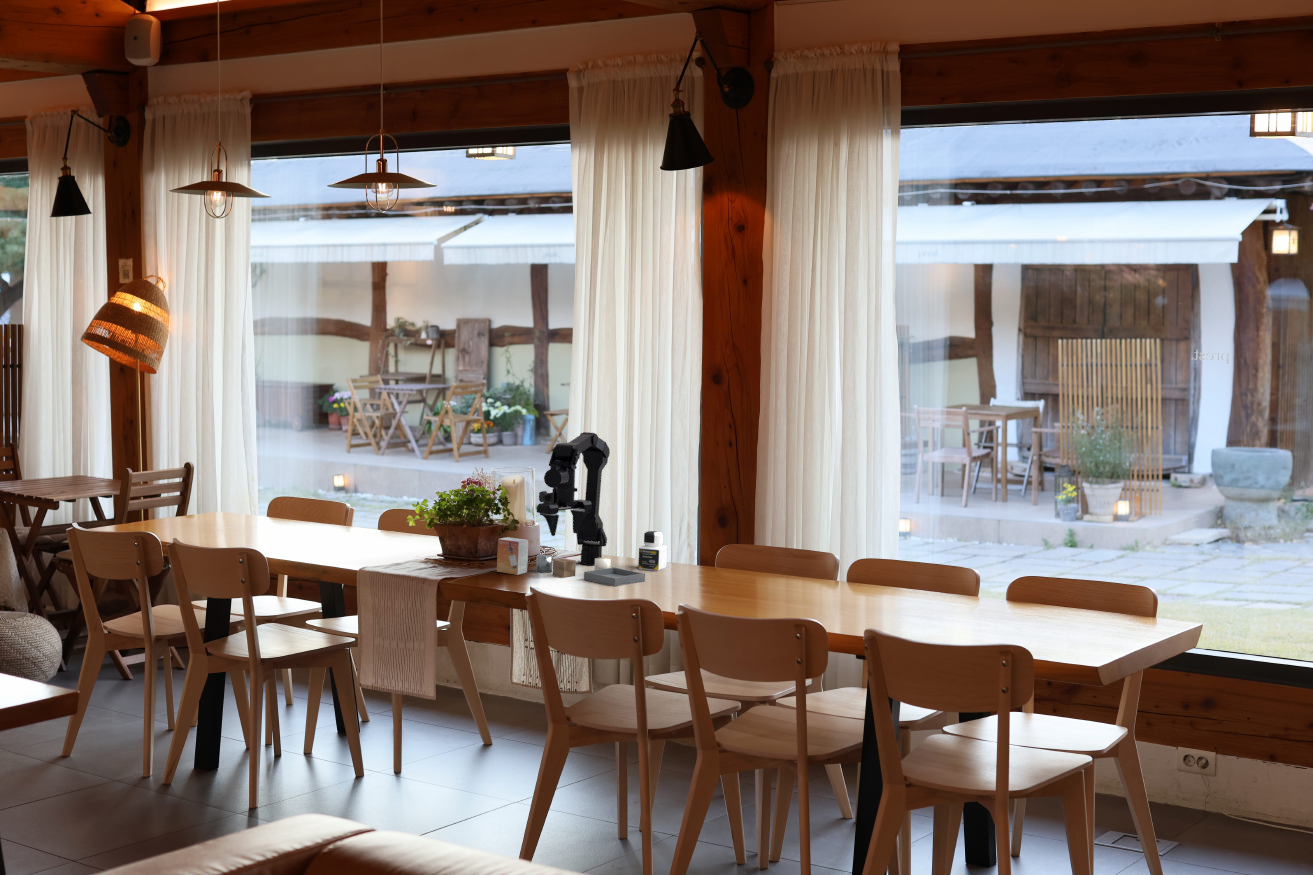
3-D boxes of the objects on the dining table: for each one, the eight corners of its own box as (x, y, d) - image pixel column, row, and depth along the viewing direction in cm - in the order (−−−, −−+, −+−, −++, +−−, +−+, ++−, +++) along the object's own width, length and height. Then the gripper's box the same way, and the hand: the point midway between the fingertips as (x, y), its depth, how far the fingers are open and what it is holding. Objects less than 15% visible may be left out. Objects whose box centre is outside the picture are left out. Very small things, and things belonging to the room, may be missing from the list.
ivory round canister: (602, 572, 408) (602, 557, 407) (613, 575, 404) (614, 559, 404) (591, 574, 404) (591, 558, 404) (602, 576, 401) (602, 560, 400)
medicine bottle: (637, 568, 416) (639, 532, 415) (646, 565, 423) (647, 529, 422) (658, 571, 414) (659, 534, 413) (666, 567, 420) (667, 531, 419)
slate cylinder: (544, 569, 410) (545, 554, 409) (555, 571, 406) (555, 556, 406) (532, 571, 406) (533, 555, 405) (543, 573, 402) (544, 557, 402)
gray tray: (613, 574, 404) (614, 567, 404) (644, 581, 396) (644, 573, 395) (583, 579, 395) (584, 571, 394) (614, 586, 386) (615, 578, 386)
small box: (496, 572, 402) (497, 538, 401) (506, 569, 407) (507, 536, 406) (517, 575, 398) (518, 541, 398) (527, 572, 403) (528, 539, 402)
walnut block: (564, 573, 404) (564, 558, 403) (575, 576, 400) (575, 560, 400) (552, 575, 400) (552, 559, 399) (563, 578, 396) (564, 562, 396)
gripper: (569, 480, 410) (568, 528, 411) (525, 483, 396) (524, 533, 398) (593, 483, 403) (592, 533, 404) (549, 487, 389) (548, 538, 390)
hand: (564, 534), depth 399 cm, fingers open, 9 cm apart
